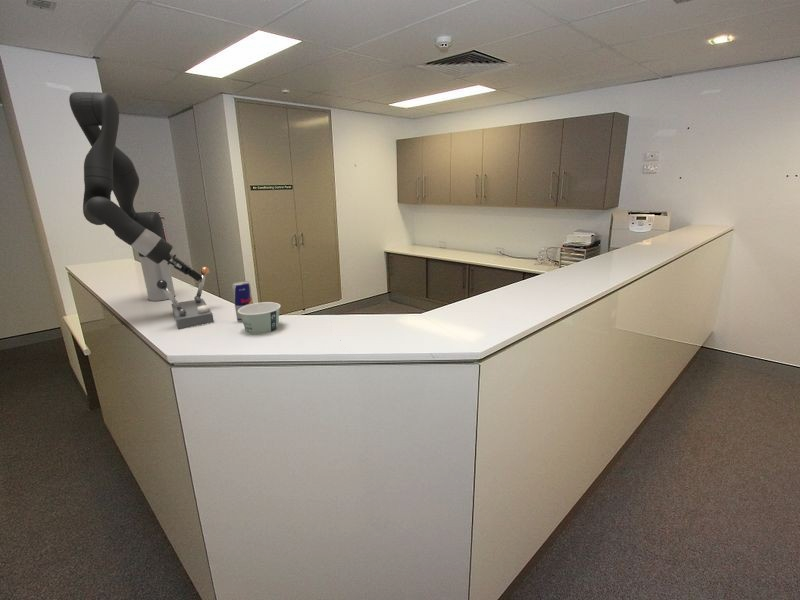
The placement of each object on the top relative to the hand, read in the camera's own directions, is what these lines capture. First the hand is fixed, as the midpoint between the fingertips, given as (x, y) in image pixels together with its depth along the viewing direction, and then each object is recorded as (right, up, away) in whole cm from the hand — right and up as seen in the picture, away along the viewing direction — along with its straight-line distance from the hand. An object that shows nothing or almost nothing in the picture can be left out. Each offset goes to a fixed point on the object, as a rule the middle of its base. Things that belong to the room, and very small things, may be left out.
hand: (200, 278), depth 140 cm
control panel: (-1, -13, -4) cm, 14 cm away
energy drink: (+19, -14, -9) cm, 25 cm away
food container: (+27, -16, -18) cm, 36 cm away
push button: (+6, -11, -10) cm, 16 cm away
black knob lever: (+1, -11, -13) cm, 17 cm away
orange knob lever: (-1, -7, +1) cm, 7 cm away
